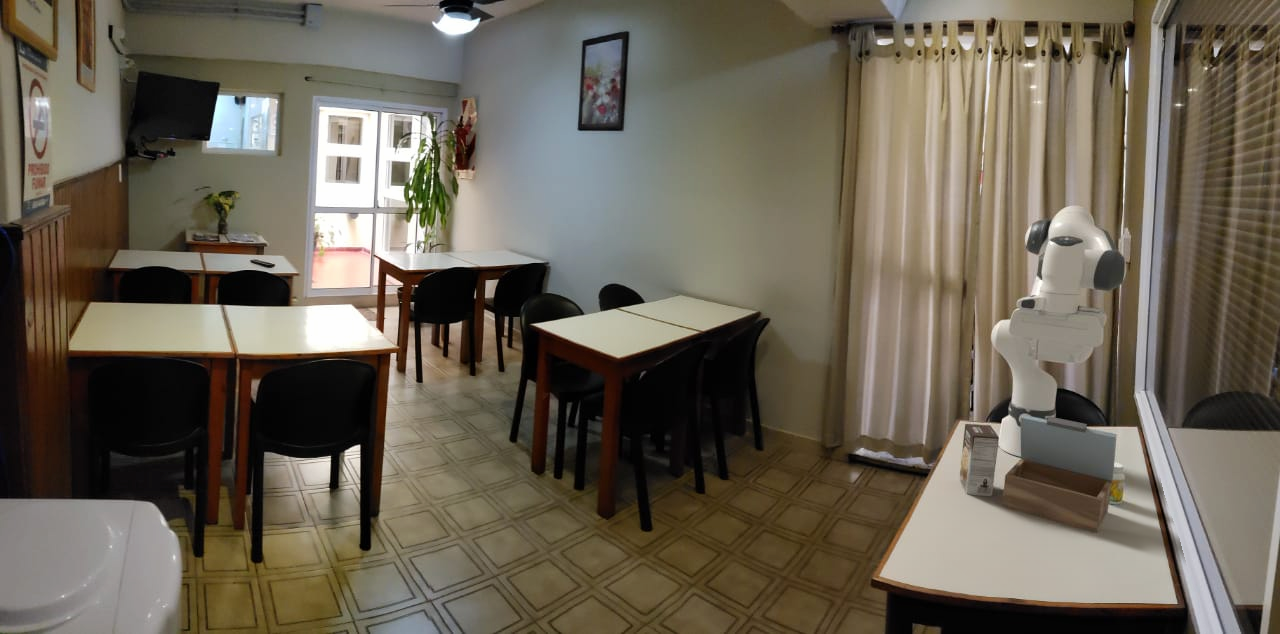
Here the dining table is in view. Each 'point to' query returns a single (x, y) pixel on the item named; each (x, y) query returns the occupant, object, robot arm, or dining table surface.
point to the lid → (1068, 446)
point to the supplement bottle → (1117, 484)
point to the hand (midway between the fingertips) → (1051, 358)
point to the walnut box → (1057, 494)
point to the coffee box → (978, 459)
